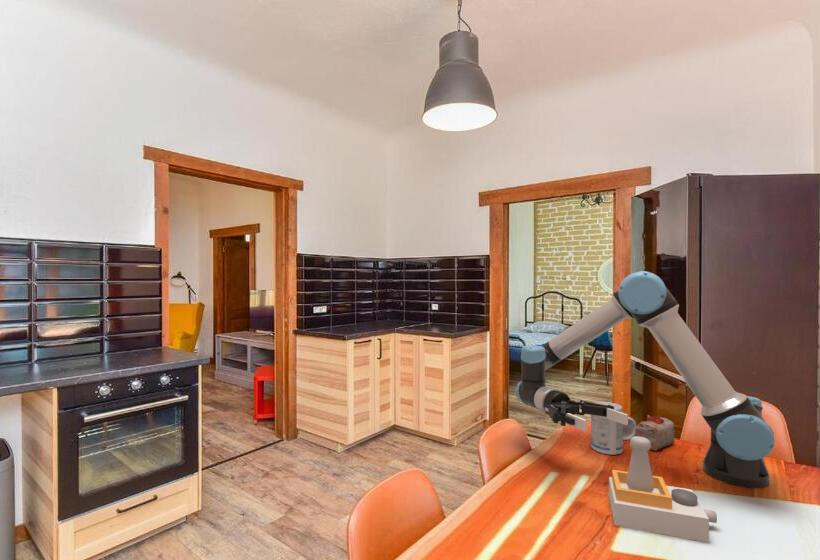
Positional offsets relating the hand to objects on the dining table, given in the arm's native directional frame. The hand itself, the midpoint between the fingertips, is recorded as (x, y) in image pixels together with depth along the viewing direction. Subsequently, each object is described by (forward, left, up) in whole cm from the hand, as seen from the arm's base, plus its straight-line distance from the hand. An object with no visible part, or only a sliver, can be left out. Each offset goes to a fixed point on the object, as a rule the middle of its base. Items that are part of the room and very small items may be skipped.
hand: (606, 422), depth 111 cm
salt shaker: (-7, +7, -14) cm, 17 cm away
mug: (-6, -49, -19) cm, 52 cm away
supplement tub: (-3, -33, -19) cm, 38 cm away
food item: (-18, -44, -19) cm, 52 cm away
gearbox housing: (-11, +8, -19) cm, 23 cm away
